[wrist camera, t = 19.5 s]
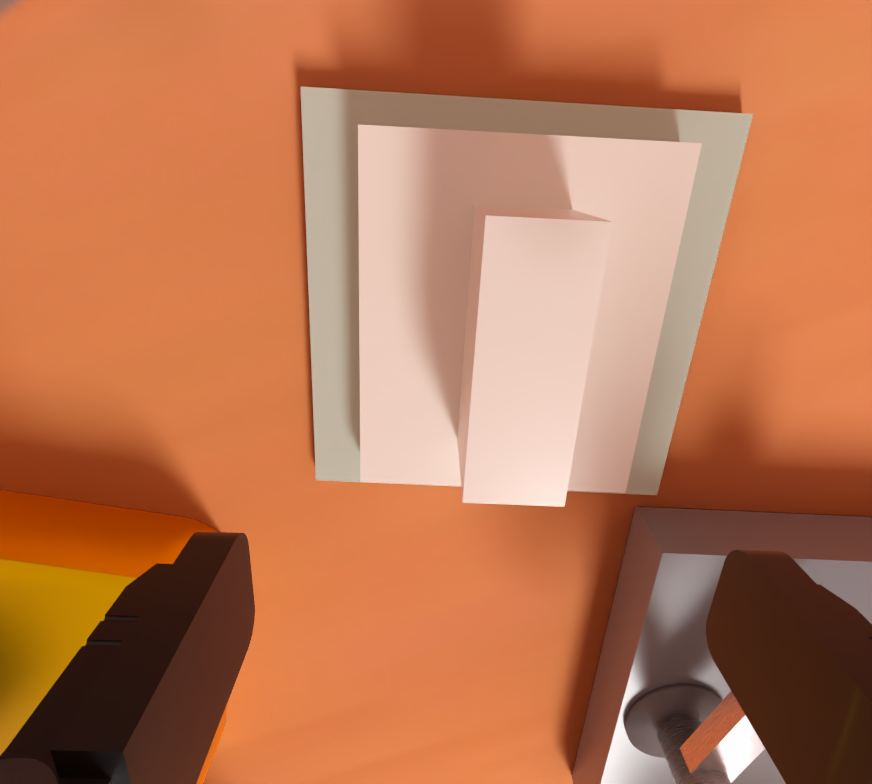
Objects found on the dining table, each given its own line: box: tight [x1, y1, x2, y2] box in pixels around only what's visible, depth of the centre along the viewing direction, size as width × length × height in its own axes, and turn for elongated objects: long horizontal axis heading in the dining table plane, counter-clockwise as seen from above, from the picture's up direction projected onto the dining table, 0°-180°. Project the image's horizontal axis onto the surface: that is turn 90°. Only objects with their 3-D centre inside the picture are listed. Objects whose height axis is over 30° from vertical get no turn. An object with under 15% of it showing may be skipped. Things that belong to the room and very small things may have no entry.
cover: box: [358, 125, 702, 507], centre depth 17 cm, size 12×10×6 cm
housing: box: [572, 507, 872, 784], centre depth 25 cm, size 18×23×3 cm
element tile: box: [0, 490, 227, 784], centre depth 24 cm, size 15×15×5 cm
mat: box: [300, 86, 753, 495], centre depth 19 cm, size 14×14×1 cm
